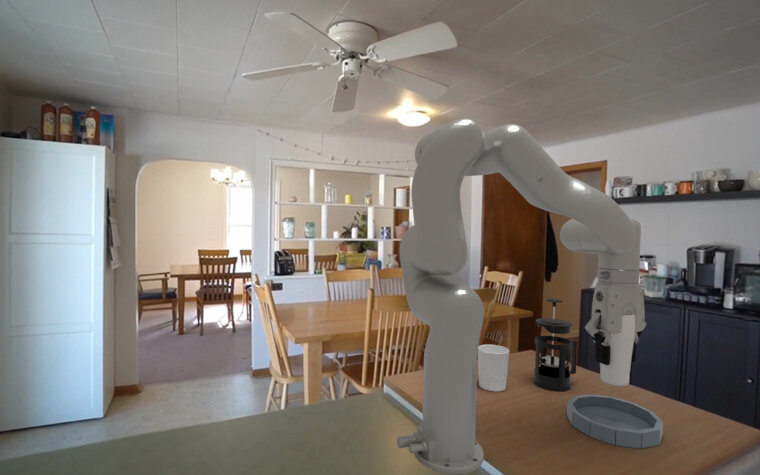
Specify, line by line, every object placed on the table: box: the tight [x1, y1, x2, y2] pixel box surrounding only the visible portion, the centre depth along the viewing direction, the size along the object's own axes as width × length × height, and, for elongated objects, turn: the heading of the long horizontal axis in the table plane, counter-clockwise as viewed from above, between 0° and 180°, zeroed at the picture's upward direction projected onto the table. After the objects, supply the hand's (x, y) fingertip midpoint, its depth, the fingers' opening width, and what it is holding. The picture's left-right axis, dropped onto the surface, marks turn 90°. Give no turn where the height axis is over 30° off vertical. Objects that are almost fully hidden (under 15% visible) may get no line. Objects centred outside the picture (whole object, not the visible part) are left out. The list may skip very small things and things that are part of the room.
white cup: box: [477, 344, 510, 393], centre depth 105 cm, size 8×8×10 cm
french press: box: [532, 298, 578, 392], centre depth 107 cm, size 12×9×23 cm
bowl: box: [566, 394, 664, 449], centre depth 85 cm, size 17×17×3 cm
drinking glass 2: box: [599, 315, 635, 387], centre depth 85 cm, size 7×7×15 cm
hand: (615, 360), depth 85 cm, fingers closed on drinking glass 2, 6 cm apart
